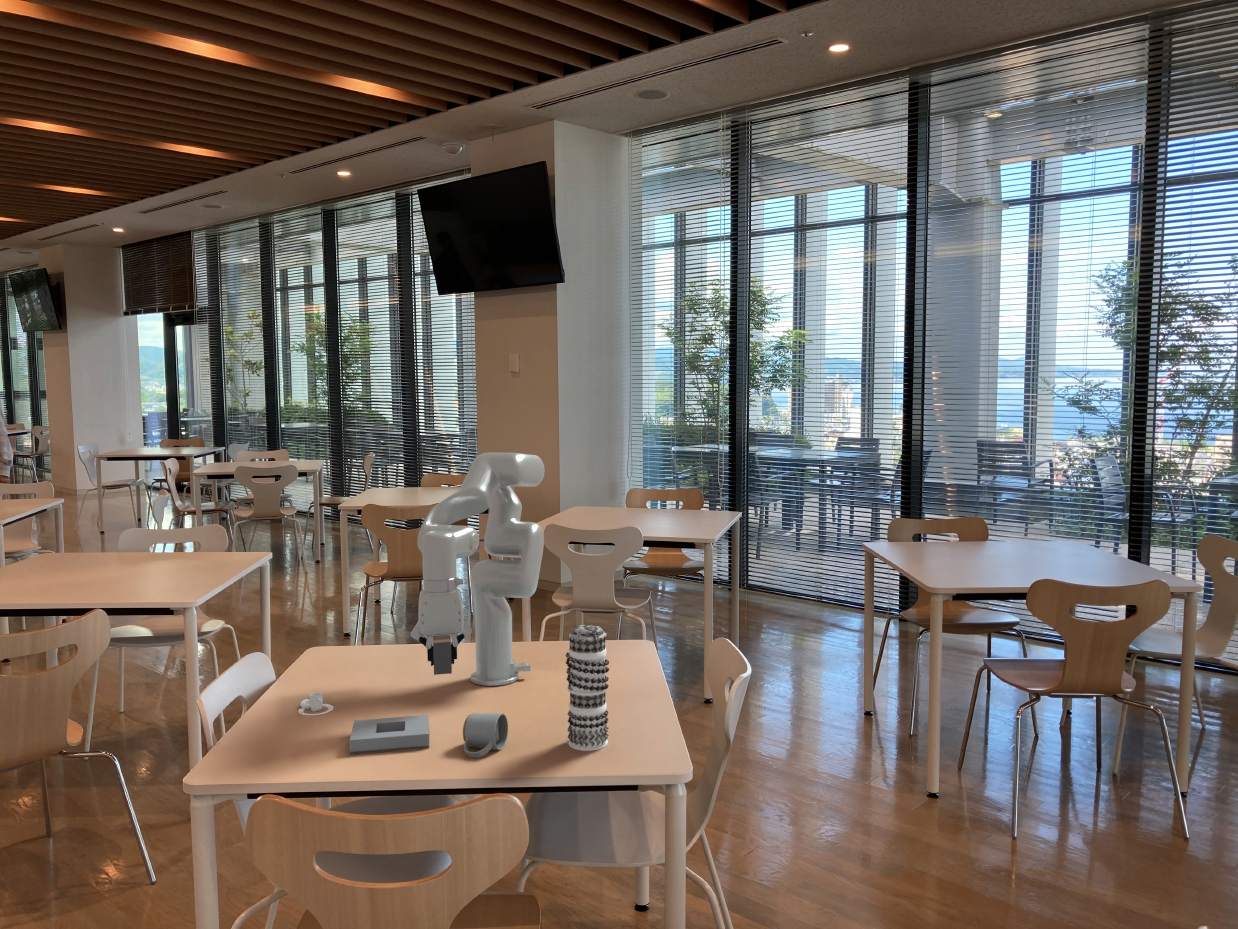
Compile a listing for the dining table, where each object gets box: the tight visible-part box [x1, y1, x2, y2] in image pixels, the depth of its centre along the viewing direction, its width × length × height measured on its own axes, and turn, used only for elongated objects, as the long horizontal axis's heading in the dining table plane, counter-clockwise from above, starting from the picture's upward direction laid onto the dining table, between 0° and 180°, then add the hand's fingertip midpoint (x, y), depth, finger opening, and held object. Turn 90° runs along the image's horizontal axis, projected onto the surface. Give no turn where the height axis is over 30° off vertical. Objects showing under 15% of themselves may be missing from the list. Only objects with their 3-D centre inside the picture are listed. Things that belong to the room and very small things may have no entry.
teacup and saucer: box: [297, 692, 334, 717], centre depth 213 cm, size 9×8×4 cm
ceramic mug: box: [462, 712, 509, 759], centre depth 187 cm, size 10×8×7 cm
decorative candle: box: [565, 624, 610, 752], centre depth 190 cm, size 9×9×25 cm
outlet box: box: [349, 714, 430, 755], centre depth 193 cm, size 16×12×3 cm
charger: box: [432, 634, 453, 676], centre depth 206 cm, size 4×4×8 cm
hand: (442, 662), depth 207 cm, fingers closed on charger, 4 cm apart
